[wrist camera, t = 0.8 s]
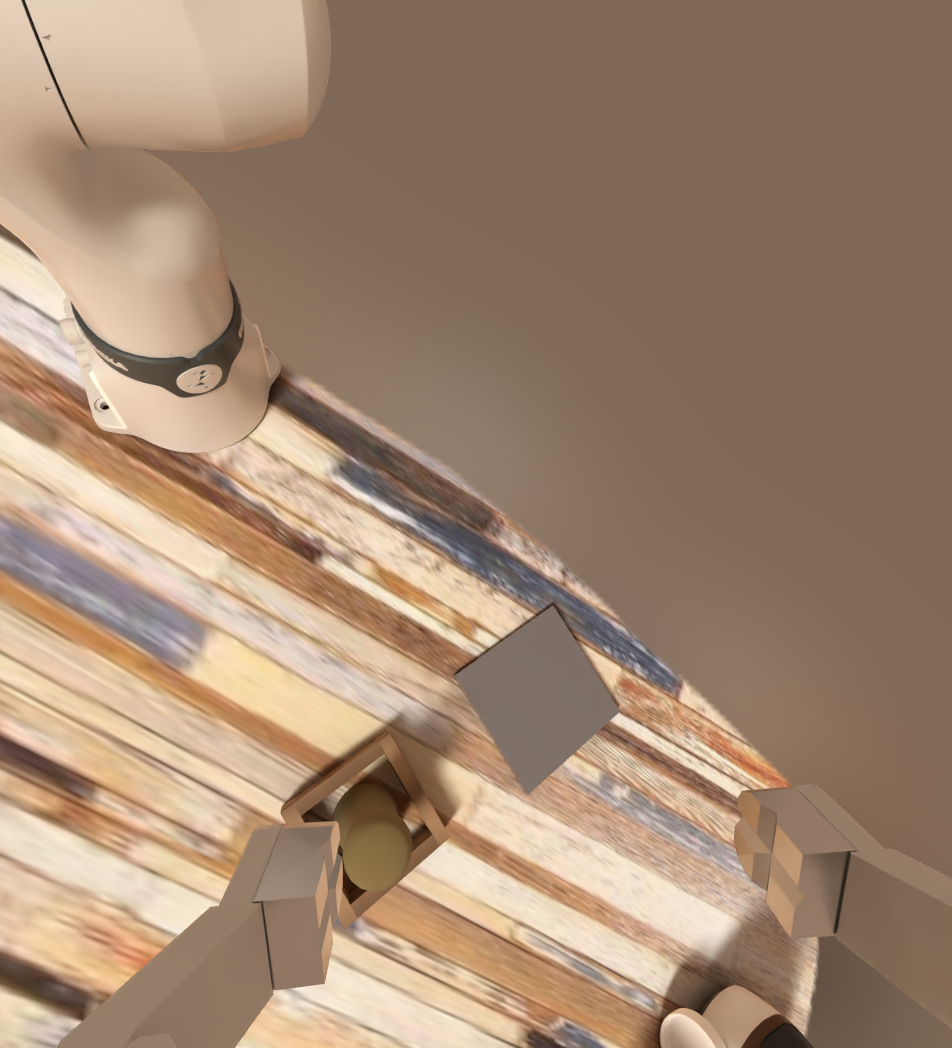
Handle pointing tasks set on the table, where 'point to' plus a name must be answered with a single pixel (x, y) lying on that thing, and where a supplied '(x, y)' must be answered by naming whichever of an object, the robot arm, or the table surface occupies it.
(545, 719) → the coaster
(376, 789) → the cork
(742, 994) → the spread jar
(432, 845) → the square wooden frame
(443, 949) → the table surface
